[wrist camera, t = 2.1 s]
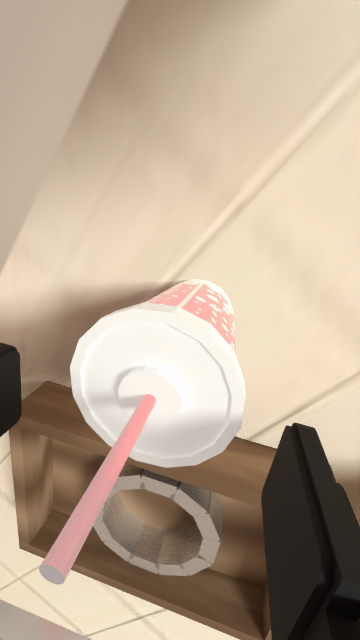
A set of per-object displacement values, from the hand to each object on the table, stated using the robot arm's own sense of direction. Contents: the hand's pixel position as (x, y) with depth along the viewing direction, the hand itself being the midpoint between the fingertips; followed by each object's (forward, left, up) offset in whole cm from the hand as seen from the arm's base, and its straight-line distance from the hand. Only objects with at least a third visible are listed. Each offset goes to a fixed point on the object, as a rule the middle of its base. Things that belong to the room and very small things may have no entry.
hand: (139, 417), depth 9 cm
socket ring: (+15, 0, -9) cm, 18 cm away
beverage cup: (-1, 0, -9) cm, 9 cm away
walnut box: (+15, 0, -9) cm, 18 cm away
